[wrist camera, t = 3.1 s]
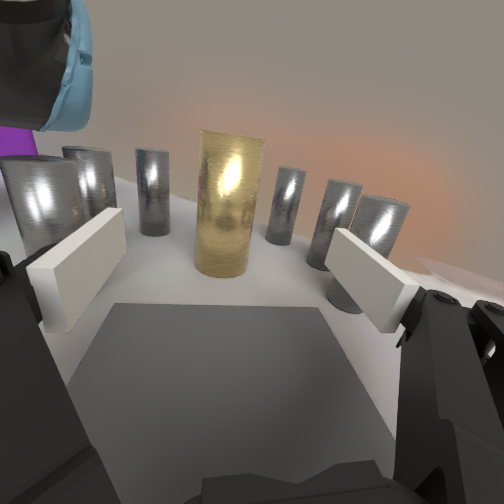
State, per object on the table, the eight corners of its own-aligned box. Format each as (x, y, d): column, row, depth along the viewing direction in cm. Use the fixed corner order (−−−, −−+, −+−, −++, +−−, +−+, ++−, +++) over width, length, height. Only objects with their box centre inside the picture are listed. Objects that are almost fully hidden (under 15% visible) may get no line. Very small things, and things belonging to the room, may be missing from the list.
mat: (-251, 989, 4) (-295, 1015, 3) (115, 311, 18) (114, 303, 18) (526, 701, 7) (545, 699, 6) (315, 314, 21) (317, 307, 21)
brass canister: (183, 263, 25) (186, 127, 20) (217, 248, 30) (227, 133, 24) (225, 284, 23) (242, 136, 17) (255, 264, 28) (276, 140, 22)
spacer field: (20, 307, 17) (-34, 157, 13) (112, 222, 32) (103, 141, 28) (378, 314, 22) (427, 209, 18) (310, 238, 38) (328, 172, 33)
